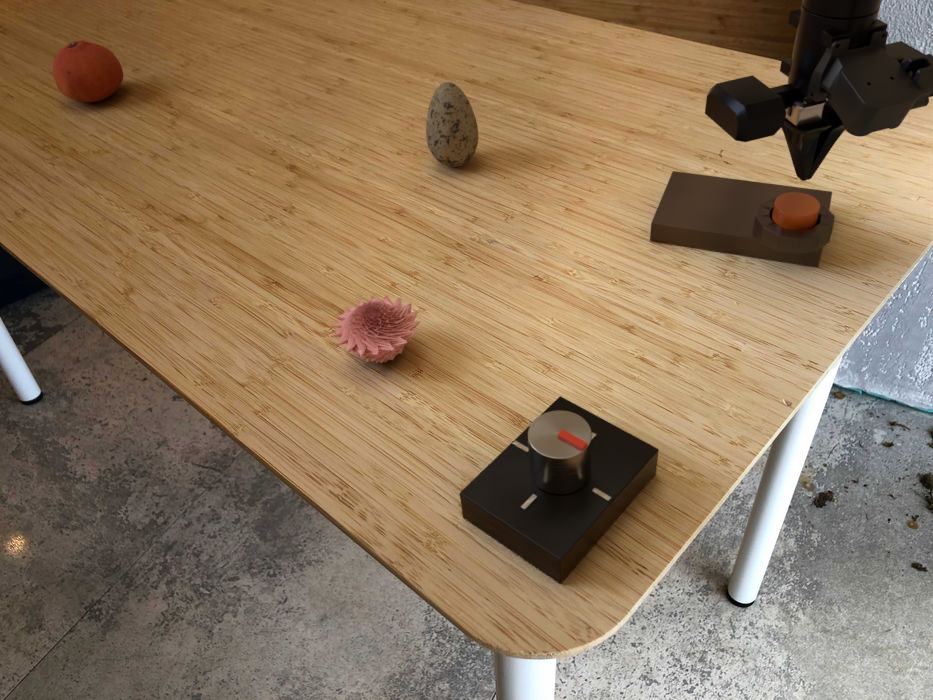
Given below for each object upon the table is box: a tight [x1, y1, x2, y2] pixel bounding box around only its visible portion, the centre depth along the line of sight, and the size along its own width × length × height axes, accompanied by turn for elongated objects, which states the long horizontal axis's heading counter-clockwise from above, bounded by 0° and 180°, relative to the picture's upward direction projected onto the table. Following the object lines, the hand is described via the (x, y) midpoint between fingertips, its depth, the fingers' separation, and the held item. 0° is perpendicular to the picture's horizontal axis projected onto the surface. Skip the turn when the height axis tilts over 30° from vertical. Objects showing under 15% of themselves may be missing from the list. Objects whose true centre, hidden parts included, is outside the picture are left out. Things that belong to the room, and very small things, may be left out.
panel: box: [459, 396, 660, 585], centre depth 62 cm, size 12×9×3 cm
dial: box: [528, 410, 592, 495], centre depth 60 cm, size 4×4×4 cm
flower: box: [328, 294, 421, 364], centre depth 75 cm, size 8×8×6 cm
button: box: [772, 192, 820, 231], centre depth 79 cm, size 4×4×2 cm
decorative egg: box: [425, 81, 479, 168], centre depth 96 cm, size 6×6×10 cm
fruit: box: [51, 39, 124, 103], centre depth 118 cm, size 9×9×8 cm
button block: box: [649, 170, 836, 268], centre depth 84 cm, size 16×12×4 cm
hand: (803, 178), depth 77 cm, fingers closed
